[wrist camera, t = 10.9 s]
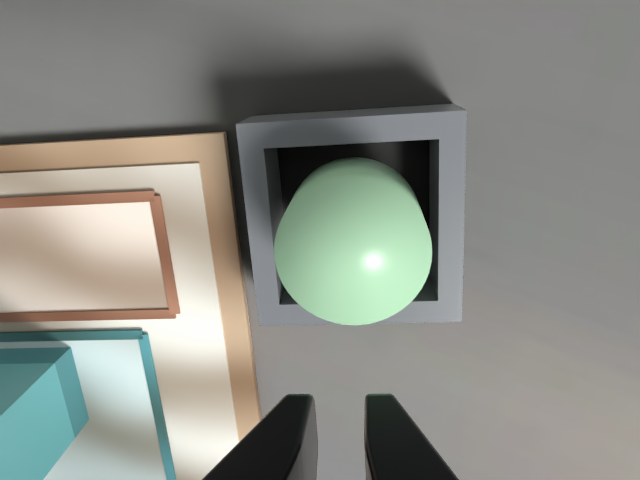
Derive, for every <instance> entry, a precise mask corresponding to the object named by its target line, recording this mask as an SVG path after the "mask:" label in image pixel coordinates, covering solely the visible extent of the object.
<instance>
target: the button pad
mask: <svg viewBox="0 0 640 480" xmlns="http://www.w3.org/2000/svg"><path fill="white" fill-rule="evenodd" d="M466 132H467V110H465V109H463V108H461V107H459V106H457V105H455V104H438V105H422V106H405V107H389V108H372V109H356V110H339V111H323V112H306V113H290V114H273V115H257V116H251V117H249V118H247V119H245V120H243V121H241V122H239V123H237V124H236V133H237V141H238V150H239V159H240V167H241V176H242V184H243V193H244V202H245V210H246V219H247V227H248V236H249V244H250V253H251V262H252V270H253V279H254V287H255V296H256V305H257V313H258V322H259V326H279V325H329V324H338V323H333V322H330V321H326V320H324V319H321V318H319V317H317V316H315V315H313V314H311V313H310V312H308V311H307V310H305V309H304V308H303V307H301V306H300V305H299V304H298V303H297V302H296V301H295V300H294V299H293V298H292V297H291V295H290V294H289V293H288V292H287V290H286V289H285V287H284V285H283V284H282V281H281V279H280V277H279V275H278V272H277V268H276V264H275V258H274V244H275V237H276V233H277V229H278V226H279V224H280V221H281V219H282V217H283V204H282V193H281V182H280V171H279V161H278V150H277V148H283V147H302V146H320V145H339V144H357V143H376V142H394V141H413V140H430V185H429V232H430V237H431V242H432V262H431V267H430V271H429V274H428V277H427V279H426V282H425V284H424V285H423V287H422V289H421V290H420V292H419V293H418V295H417V296H416V297H415V298H414V299H413V300H412V301H411V303H410V304H408V305H407V306H406V307H405V308H404V309H402V310H401V311H399V312H398V313H396V314H395V315H393V316H391V317H389V318H386V319H384V320H381V321H378V322H375V323H370V324H378V323H428V322H462V296H463V255H464V214H465V173H466Z"/></svg>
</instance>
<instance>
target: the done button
mask: <svg viewBox="0 0 640 480" xmlns="http://www.w3.org/2000/svg"><path fill="white" fill-rule="evenodd" d="M274 258H275V264H276V268H277V272H278V275H279V277H280V279H281V281H282V284H283V285H284V287H285V289H286V290H287V292H288V293H289V294H290V295H291V297H292V298H293V299H294V300H295V301H296V302H297V303H298V304H299V305H300V306H301V307H303V308H304V309H305V310H307V311H308V312H310V313H311V314H313V315H315V316H317V317H319V318H321V319H324V320H326V321H330V322H333V323H338V324H344V325H364V324H370V323H375V322H378V321H381V320H384V319H386V318H389V317H391V316H393V315H395V314H396V313H398V312H399V311H401V310H402V309H404V308H405V307H406V306H407V305H408V304H410V303H411V301H412V300H413V299H414V298H415V297H416V296H417V295H418V293H419V292H420V290H421V289H422V287H423V285H424V284H425V282H426V279H427V277H428V274H429V271H430V267H431V262H432V242H431V237H430V232H429V230H428V227H427V224H426V221H425V219H424V216H423V213H422V211H421V208H420V205H419V203H418V200H417V197H416V195H415V193H414V191H413V189H412V188H411V186H410V185H409V184H408V182H407V181H406V180H405V179H404V178H403V177H402V176H401V175H400V174H399V173H398V172H397V171H395V170H394V169H393V168H391V167H389V166H388V165H386V164H383V163H381V162H379V161H376V160H372V159H368V158H361V157H349V158H341V159H337V160H333V161H331V162H328V163H326V164H324V165H322V166H320V167H319V168H317V169H316V170H314V171H313V172H312V173H310V174H309V175H308V176H307V177H306V178H305V179H304V180H303V182H302V183H301V184H300V186H299V187H298V189H297V191H296V192H295V194H294V196H293V198H292V200H291V202H290V204H289V206H288V208H287V210H286V212H285V213H284V215H283V217H282V219H281V221H280V224H279V226H278V229H277V233H276V237H275V244H274Z"/></svg>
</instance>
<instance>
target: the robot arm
mask: <svg viewBox="0 0 640 480" xmlns="http://www.w3.org/2000/svg"><path fill="white" fill-rule="evenodd" d="M364 445H365V467H366V480H459V479H458V478H457V477H456V475H455V474H454V473H453V471H452V470H451V469H450V468H449V466H448V465H447V464H446V462H445V461H444V460H443V459H442V457H441V456H440V455H439V453H438V452H437V451H436V450H435V448H434V447H433V446H432V444H431V443H430V442H429V441H428V439H427V438H426V437H425V435H424V434H423V433H422V431H421V430H420V429H419V428H418V426H417V425H416V424H415V422H414V421H413V420H412V419H411V417H410V416H409V415H408V413H407V412H406V411H405V410H404V408H403V407H402V406H401V404H400V403H399V402H398V401H397V399H396V398H395V397H394V396H393V395H392V394H368V395H366V397H365V421H364ZM317 459H318V437H317V425H316V412H315V402H314V398H313V396H312V395H311V394H288V395H286V396H285V397H284V398H283V399H282V400H281V401H280V402H279V403H278V404H277V405H276V406H275V407H274V408H273V409H272V410H271V411H270V412H269V413H268V414H267V415H266V416H265V417H264V418H263V419H262V420H261V421H260V422H259V423H258V424H257V425H256V426H255V427H254V428H253V429H252V430H251V431H250V432H249V433H248V434H247V435H246V436H245V437H244V438H243V439H242V440H241V441H240V442H239V443H238V444H237V445H236V446H235V447H234V448H233V449H232V450H231V451H230V452H229V453H228V454H227V455H226V456H225V457H224V458H223V459H222V460H221V461H220V462H219V463H218V464H217V465H216V466H215V467H214V468H213V469H212V470H211V471H210V472H209V473H208V474H207V475H206V476H205V477H204V478H203V479H202V480H316V476H317Z"/></svg>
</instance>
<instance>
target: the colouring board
mask: <svg viewBox="0 0 640 480" xmlns="http://www.w3.org/2000/svg"><path fill="white" fill-rule="evenodd" d="M56 347H71V349H72V353H73V357H74V361H75V365H76V369H77V373H78V377H79V381H80V385H81V389H82V393H83V397H84V400H85V404H86V408H87V412H88V416H89V421H88V422H87V423H86V424H85V426H84V427H83V428H82V430H81V431H80V432H79V434H78V435H77V436H76V438H75V439H74V440H73V441H72V443H71V444H70V445H69V447H68V448H67V449H66V451H65V452H64V453H63V455H62V456H61V457H60V458H59V460H58V461H57V462H56V464H55V465H54V466H53V468H52V469H51V470H50V472H49V473H48V474H47V475H46V477H45V478H44V479H43V480H202V479H203V478H204V477H205V476H206V475H207V474H208V473H209V472H210V471H211V470H212V469H213V468H214V467H215V466H216V465H217V464H218V463H219V462H220V461H221V460H222V459H223V458H224V457H225V456H226V455H227V454H228V453H229V452H230V451H231V450H232V449H233V448H234V447H235V446H236V445H237V444H238V443H239V442H240V441H241V440H242V439H243V438H244V437H245V436H246V435H247V434H248V433H249V432H250V431H251V430H252V429H253V428H254V427H255V426H256V425H257V424H258V423H259V422H260V421H261V412H260V404H259V395H258V387H257V379H256V371H255V363H254V355H253V347H252V338H251V330H250V322H249V314H248V306H247V298H246V289H245V281H244V273H243V265H242V257H241V249H240V240H239V232H238V224H237V216H236V208H235V200H234V192H233V183H232V175H231V167H230V159H229V151H228V143H227V134H226V132H211V133H194V134H177V135H159V136H142V137H125V138H108V139H90V140H73V141H56V142H38V143H21V144H4V145H0V349H6V348H56Z"/></svg>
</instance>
